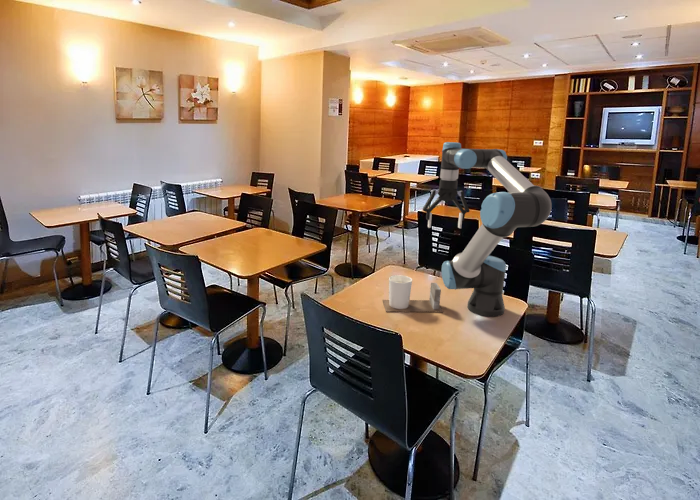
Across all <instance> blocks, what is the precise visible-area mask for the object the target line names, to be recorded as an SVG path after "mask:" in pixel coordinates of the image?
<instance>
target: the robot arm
mask: <svg viewBox="0 0 700 500" xmlns="http://www.w3.org/2000/svg"><path fill="white" fill-rule="evenodd" d="M440 164H441V165H440V175H439V178H440V180H439V184H438V185H439V187H438V188H439V189H438V190H434V189H432V190H431V193H430V195H429V196H428V197H429V198H427V200H426V202H425V204H424V206H423V207H422V210H423V212H425V213H426V215H425V219H426V220H427V228H428V229H431V227H432V217H433V216H432V215H433V213H432V211H434V209H435V208H436V207H437V206H438V205H439V204H440V203H441V202H442V201H444V202H453V203H454V204H455V206H456V207H457V208H458V210H459V211H460V212H459V213H458V214H459V215H458V221H457V228H458V229H462V224H463V222H464V221H465V215H466V214H467V213H470V208H469V206H468V203H467V200H466V198H465V192H464V190H458V183H459V182H458V179H459V170H460V169H462V170H463V169H464V170H466V169H467V170H468V169H469V170H470V169H486V170H487V171H489V173H490V174H491V175H492V176H493V177H494V178H495V179H496V180H497V181H498V182H499V183H500V184H501V185H502V186H503V188H505V189H506V190H507V192H506V191H499V192H493V193H490V194H488V195H487V196H486V197H485V198H484V200H482V203H481V206H480V207H481V209H480V213H479V216H480V220H481V225H480V226H479V228H478V229H477V231H476V232H475V234H474V235H473V236H472V238H471V239H470V241H469V242H468V244H467V245H466V246H465V248H464V250H462V252H459V253H457V254H456V255H455V256H454V257H453V258H452V260H445V261H443V263H442V265H441V278H442V282H443V284H444V286H445V288H447V289H448V290H455V291H456V290H464V289H473V291H472V293H471V295H470V297H469V299H468V301H467V309H468V311H470V312H471V313H473V314H475V315H480V316H483V317H498V316H502V315H503V314H504V313H505V307H506V306H505V303H504V302H505V301H504V298H503V297H504V296H503V292H504V291H503V289H504V282H505V276H506V269H507V268H506V267H507V264H506V262H505V261H504V260H503V259H502V258H499V257H497V256H493V255H491V254H492V252H493V251H494V249H495V248H496V247H497V246H498V244H500V242H501V241H502V240H503V239H504V238H508V237H510V236H511V235H512V234H513V233H514V232H515V230H516V229H517V228H531V227H532V228H533V227H538V226H540V225H542V224H544V223H545V222H546V221H547V220H548V218H549V216H550V215H551V212H552V200H551V197H550V196H549V194H548V193H547V192H546V191H545V190H544V189H543V188H542V187H541V186H539V185H534V184H533V182H531V181H530V180H529V179H528V178H527V177H526V176H524V175H523V173H521V172H520V171H519V170H518V169H517V168H516V167H514V165H512V164H511V163H510V162H509V161H508V155H507V152H506V151H505V150H503V149H498V148H492V149H491V148H462V143H460V142H453V141H451V142H450V141H446V142H443V146H442V150H441V163H440ZM437 195H438V197H437V198H436V200H435V201H433V200H434V198H435V197H436V196H437ZM457 196H459V198H460V200H461V201H460V202H461V203H462V205H461V204H460V202H459V201H458V199H457V198H456V197H457ZM462 206H463V207H462Z"/></svg>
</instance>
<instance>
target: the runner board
mask: <svg viewBox="0 0 700 500" xmlns="http://www.w3.org/2000/svg"><path fill="white" fill-rule="evenodd" d="M429 289H430V290H429V299H423V300H422V299H418V300H417V299H410V300H409V306H408V307H407V308H405V309H395V308H392V307H391V306H390V305H389V299H382V303H383V306H384V307H383V308H384V309H385V313H444V310H443V308H442V307H441V306H440V305H441V303H440V302H441V293H442V289H441V288H440V286H439V285H438V283H437V282H431V283H430V288H429Z"/></svg>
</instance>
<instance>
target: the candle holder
mask: <svg viewBox="0 0 700 500" xmlns="http://www.w3.org/2000/svg"><path fill="white" fill-rule="evenodd" d="M412 284H413V278H412V277H410V276H407V275H403V274H402V275H400V274H395V275H391V276H389V278H388V300H389V305H390V306H391V307H392V308H395V309H405V308H407V307H408V306H409V300H411V298H410V297H411V291H412Z"/></svg>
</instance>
